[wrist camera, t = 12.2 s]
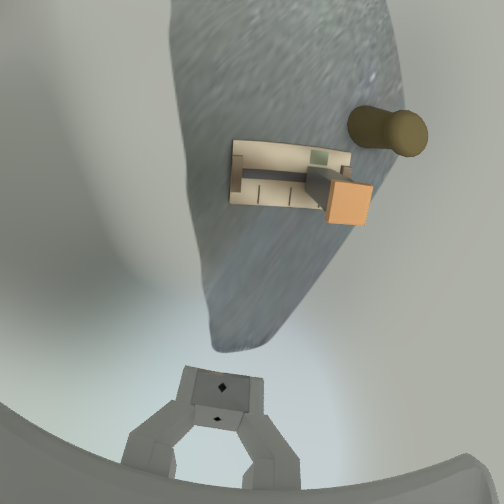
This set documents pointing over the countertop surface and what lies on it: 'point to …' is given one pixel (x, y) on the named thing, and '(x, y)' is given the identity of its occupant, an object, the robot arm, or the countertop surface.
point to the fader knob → (338, 196)
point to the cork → (388, 130)
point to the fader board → (279, 172)
